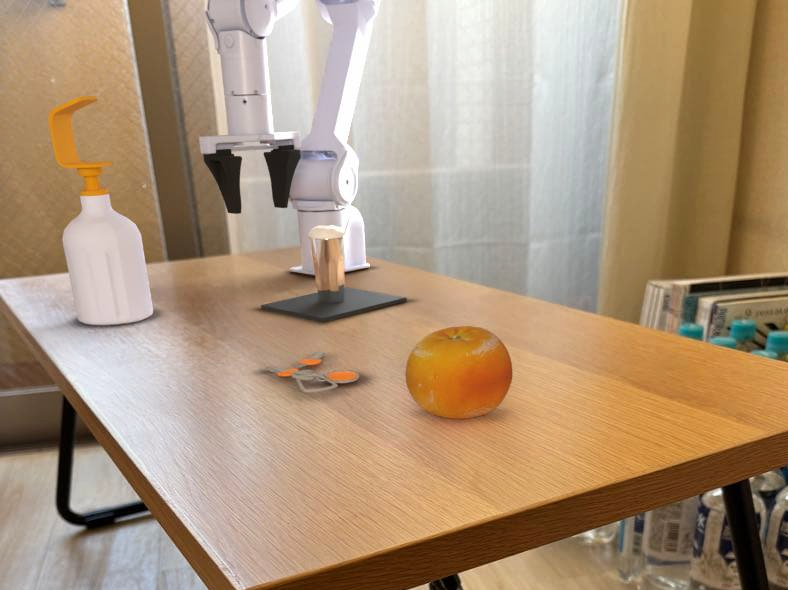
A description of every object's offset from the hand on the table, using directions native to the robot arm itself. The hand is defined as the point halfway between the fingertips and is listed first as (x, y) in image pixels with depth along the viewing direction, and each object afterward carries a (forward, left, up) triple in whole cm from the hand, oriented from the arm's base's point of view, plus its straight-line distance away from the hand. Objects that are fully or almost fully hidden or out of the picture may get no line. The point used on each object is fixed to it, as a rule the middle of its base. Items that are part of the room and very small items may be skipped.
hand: (258, 210), depth 118 cm
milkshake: (+1, +15, -10) cm, 18 cm away
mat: (+1, +15, -10) cm, 18 cm away
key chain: (+23, +37, -10) cm, 45 cm away
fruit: (+22, +55, -11) cm, 60 cm away
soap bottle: (+22, -2, -11) cm, 24 cm away
